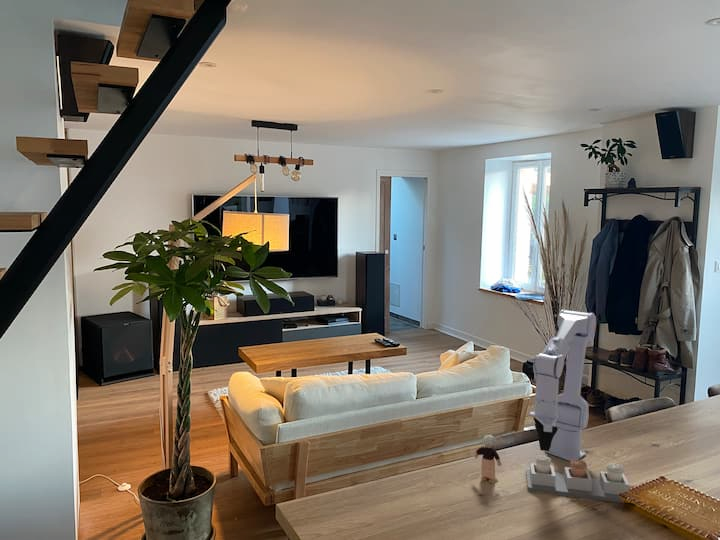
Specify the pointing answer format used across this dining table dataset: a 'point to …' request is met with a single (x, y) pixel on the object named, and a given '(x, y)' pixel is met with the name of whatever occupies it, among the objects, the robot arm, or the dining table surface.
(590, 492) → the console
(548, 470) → the knob
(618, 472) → the knob
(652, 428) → the dining table surface
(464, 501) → the dining table surface
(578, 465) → the middle knob
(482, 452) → the grandmother figurine
